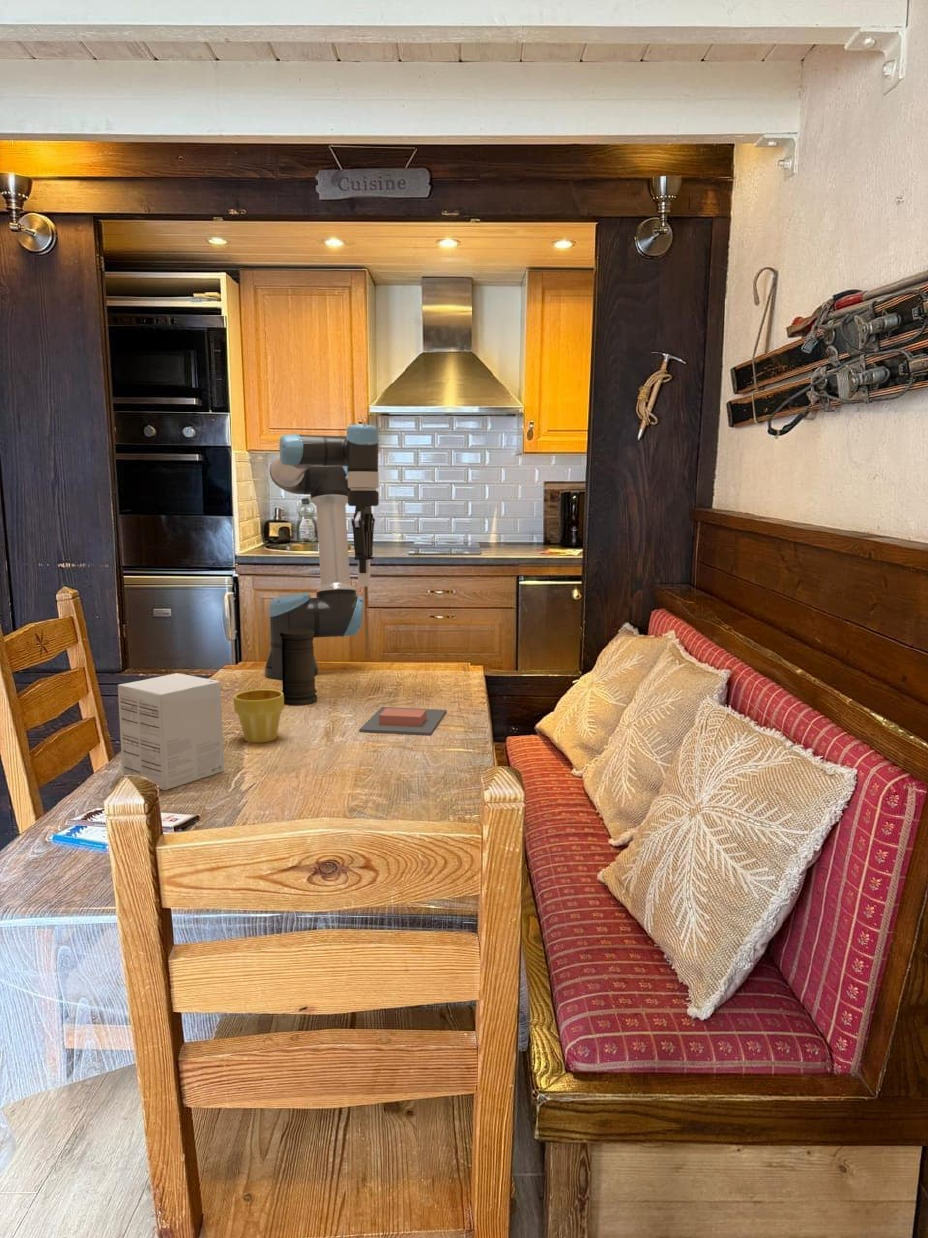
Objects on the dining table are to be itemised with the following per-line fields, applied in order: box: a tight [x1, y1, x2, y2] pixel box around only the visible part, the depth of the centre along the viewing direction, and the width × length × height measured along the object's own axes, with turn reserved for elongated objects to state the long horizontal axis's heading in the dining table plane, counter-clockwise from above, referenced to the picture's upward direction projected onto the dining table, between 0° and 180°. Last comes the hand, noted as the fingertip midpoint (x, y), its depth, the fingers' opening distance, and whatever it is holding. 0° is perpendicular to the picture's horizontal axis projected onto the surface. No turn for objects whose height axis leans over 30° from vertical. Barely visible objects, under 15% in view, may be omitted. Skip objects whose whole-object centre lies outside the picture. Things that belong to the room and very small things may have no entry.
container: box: [280, 629, 318, 706], centre depth 210 cm, size 9×9×18 cm
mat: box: [359, 706, 448, 736], centre depth 193 cm, size 20×16×1 cm
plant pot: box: [233, 688, 285, 744], centre depth 178 cm, size 10×10×10 cm
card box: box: [379, 707, 426, 727], centre depth 190 cm, size 2×10×6 cm
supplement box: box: [117, 672, 225, 791], centre depth 154 cm, size 13×13×18 cm
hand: (364, 585), depth 207 cm, fingers closed
